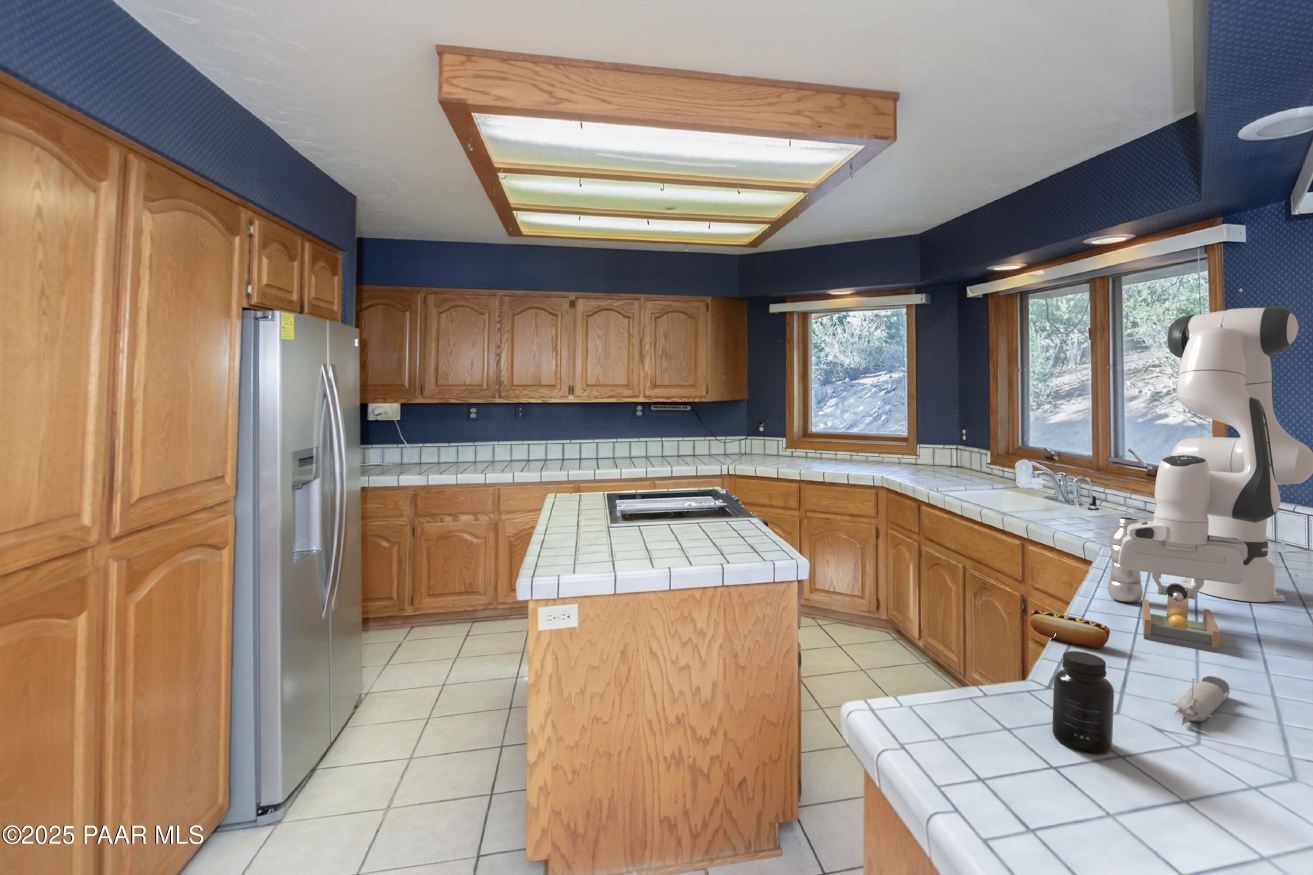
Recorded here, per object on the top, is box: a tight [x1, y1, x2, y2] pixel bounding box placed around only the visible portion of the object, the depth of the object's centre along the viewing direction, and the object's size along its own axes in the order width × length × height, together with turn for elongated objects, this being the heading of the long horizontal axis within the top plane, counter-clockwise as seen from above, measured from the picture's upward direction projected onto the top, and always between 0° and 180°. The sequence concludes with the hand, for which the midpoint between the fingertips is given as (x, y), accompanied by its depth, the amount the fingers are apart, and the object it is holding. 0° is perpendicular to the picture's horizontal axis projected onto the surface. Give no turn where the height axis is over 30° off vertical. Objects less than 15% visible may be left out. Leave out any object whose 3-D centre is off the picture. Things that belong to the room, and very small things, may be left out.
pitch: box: [1141, 598, 1221, 654], centre depth 123 cm, size 16×11×4 cm
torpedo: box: [1170, 675, 1230, 726], centre depth 92 cm, size 18×5×7 cm, turn 125°
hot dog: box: [1029, 609, 1111, 649], centre depth 118 cm, size 5×13×5 cm, turn 43°
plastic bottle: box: [1107, 516, 1144, 603], centre depth 142 cm, size 6×7×20 cm
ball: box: [1169, 615, 1188, 629], centre depth 122 cm, size 3×3×3 cm
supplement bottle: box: [1051, 650, 1115, 755], centre depth 83 cm, size 7×7×12 cm
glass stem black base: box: [1166, 582, 1190, 622], centre depth 126 cm, size 6×3×7 cm, turn 142°
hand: (1176, 596), depth 127 cm, fingers closed on glass stem black base, 3 cm apart
